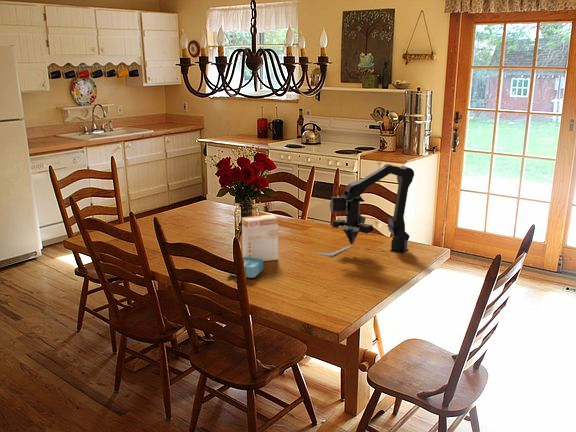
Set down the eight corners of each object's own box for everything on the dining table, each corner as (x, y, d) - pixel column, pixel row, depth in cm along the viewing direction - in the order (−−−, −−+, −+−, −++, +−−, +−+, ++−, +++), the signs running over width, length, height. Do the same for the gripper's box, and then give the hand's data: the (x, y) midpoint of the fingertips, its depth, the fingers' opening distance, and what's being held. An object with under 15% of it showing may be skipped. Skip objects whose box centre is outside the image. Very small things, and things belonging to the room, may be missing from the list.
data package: (253, 267, 216) (226, 264, 219) (254, 278, 217) (226, 275, 220) (264, 258, 227) (237, 256, 230) (264, 268, 228) (238, 266, 231)
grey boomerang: (351, 248, 257) (352, 246, 257) (331, 257, 243) (331, 255, 243) (326, 242, 266) (326, 241, 266) (305, 251, 252) (305, 249, 252)
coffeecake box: (273, 255, 246) (273, 214, 242) (278, 259, 240) (278, 217, 235) (242, 258, 241) (241, 216, 236) (246, 263, 234) (245, 220, 230)
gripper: (379, 210, 243) (378, 243, 247) (344, 205, 254) (343, 237, 258) (367, 215, 235) (366, 249, 238) (331, 209, 246) (331, 242, 249)
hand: (351, 244), depth 246 cm, fingers closed
